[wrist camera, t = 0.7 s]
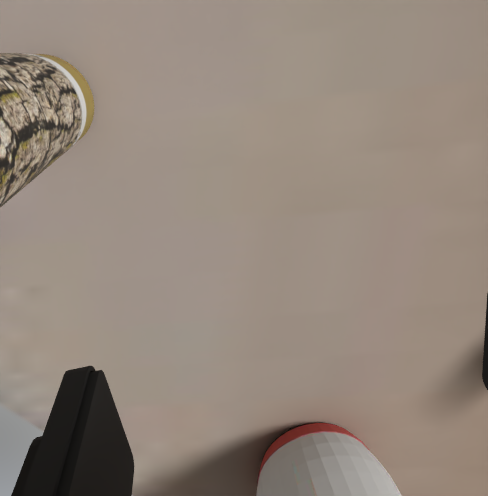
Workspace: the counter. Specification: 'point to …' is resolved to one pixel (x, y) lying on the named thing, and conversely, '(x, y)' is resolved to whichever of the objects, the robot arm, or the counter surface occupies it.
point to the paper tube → (38, 116)
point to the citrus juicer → (322, 465)
